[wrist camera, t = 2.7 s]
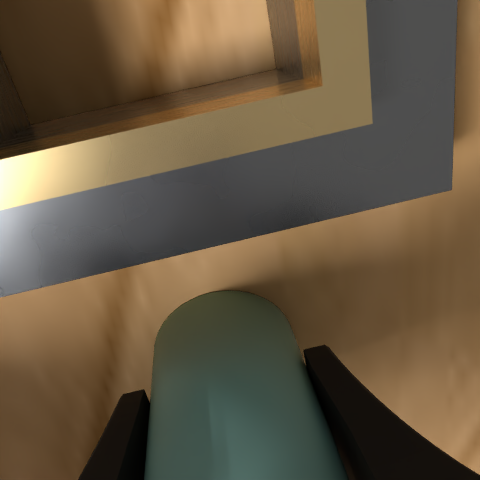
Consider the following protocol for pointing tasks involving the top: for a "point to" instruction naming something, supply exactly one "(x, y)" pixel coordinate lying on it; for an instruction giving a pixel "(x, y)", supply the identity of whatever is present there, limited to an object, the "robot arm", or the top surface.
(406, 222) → the top surface
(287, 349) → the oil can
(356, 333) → the top surface
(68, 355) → the top surface
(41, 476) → the top surface
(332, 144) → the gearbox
